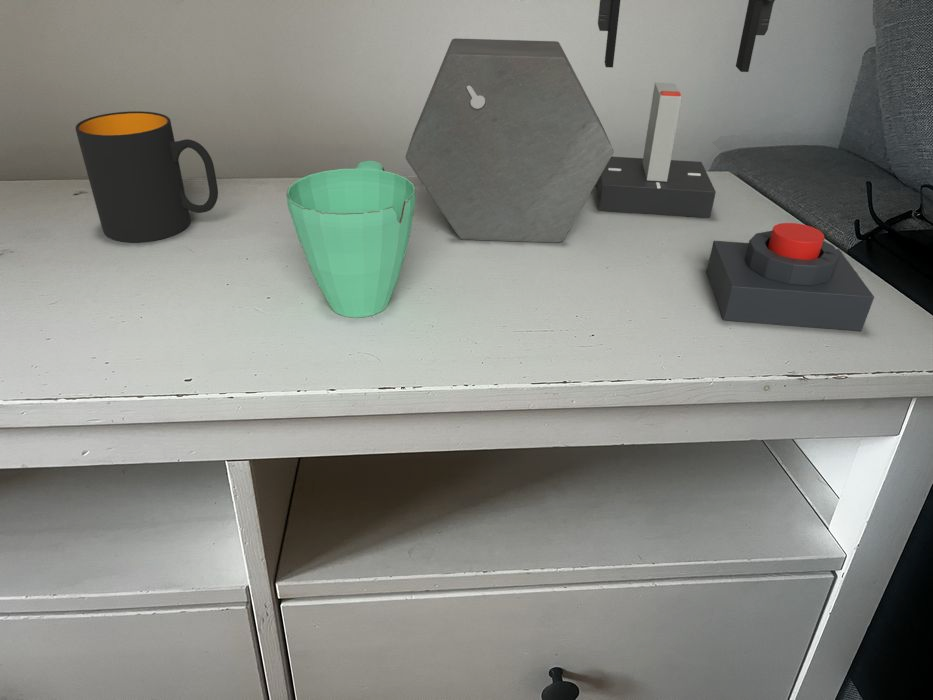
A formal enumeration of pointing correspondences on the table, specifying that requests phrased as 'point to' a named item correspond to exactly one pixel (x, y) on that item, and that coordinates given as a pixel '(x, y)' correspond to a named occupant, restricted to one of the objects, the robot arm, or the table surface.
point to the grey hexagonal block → (508, 141)
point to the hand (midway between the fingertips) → (674, 67)
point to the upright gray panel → (661, 131)
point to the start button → (796, 241)
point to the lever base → (655, 189)
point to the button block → (787, 286)
